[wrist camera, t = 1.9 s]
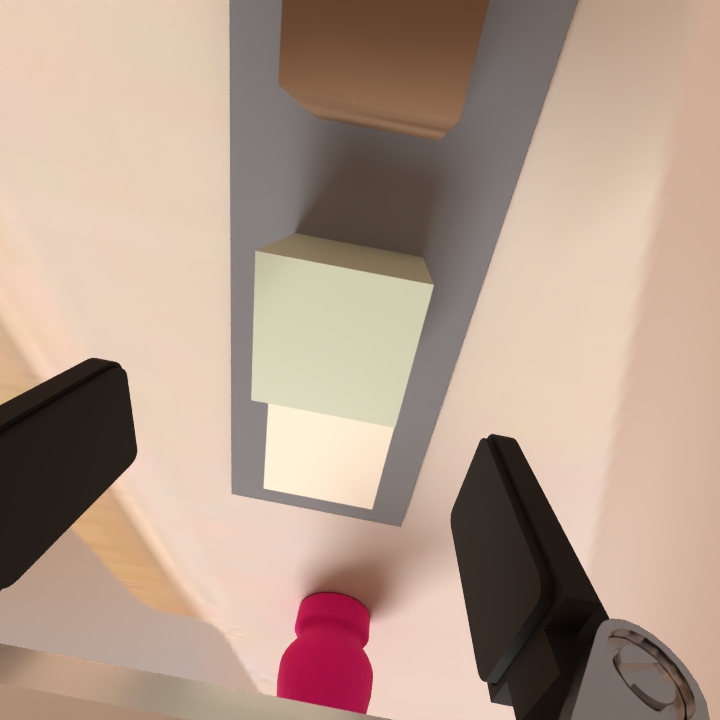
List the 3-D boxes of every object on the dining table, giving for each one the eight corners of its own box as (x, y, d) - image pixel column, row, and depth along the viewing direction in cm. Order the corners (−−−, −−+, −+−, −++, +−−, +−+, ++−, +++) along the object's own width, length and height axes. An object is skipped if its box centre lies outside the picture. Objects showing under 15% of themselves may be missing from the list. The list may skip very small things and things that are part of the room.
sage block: (294, 232, 16) (255, 250, 11) (422, 257, 16) (434, 285, 11) (285, 349, 19) (251, 400, 14) (394, 370, 19) (395, 428, 14)
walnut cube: (332, -61, 12) (292, -219, 7) (479, -34, 11) (533, -174, 7) (315, 117, 14) (278, 84, 9) (438, 141, 14) (460, 119, 9)
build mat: (234, -94, 12) (227, -105, 11) (584, -29, 12) (591, -37, 11) (233, 489, 24) (231, 495, 24) (400, 521, 24) (400, 528, 24)
